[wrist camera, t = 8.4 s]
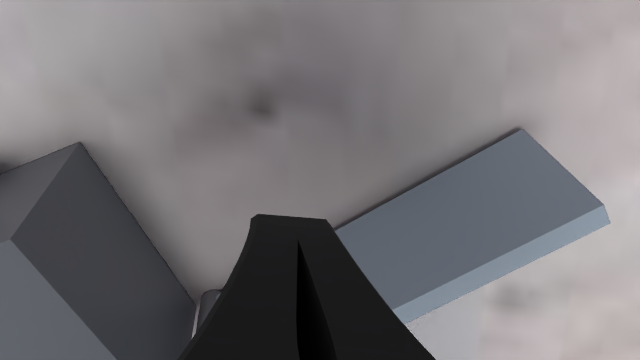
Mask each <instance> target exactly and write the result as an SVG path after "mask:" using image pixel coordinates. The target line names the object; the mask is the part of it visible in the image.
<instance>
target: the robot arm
mask: <svg viewBox="0 0 640 360" xmlns="http://www.w3.org/2000/svg"><path fill="white" fill-rule="evenodd" d="M177 360H436V359H435V358H434V357H433V356H432V355H431V354H430V353H429V352H428V351H427V350H426V349H425V348H424V347H423V346H422V345H421V343H420V342H419V341H418V340H417V339H416V338H415V337H414V336H413V334H412V333H411V332H410V331H409V330H408V329H407V327H406V326H405V325H404V324H403V323H402V322H401V321H400V319H399V318H398V317H397V316H396V314H395V313H394V312H393V311H392V310H391V308H390V307H389V306H388V305H387V303H386V302H385V301H384V299H383V298H382V297H381V296H380V294H379V293H378V292H377V290H376V289H375V288H374V286H373V285H372V284H371V283H370V281H369V280H368V279H367V277H366V276H365V275H364V273H363V272H362V270H361V269H360V268H359V266H358V265H357V263H356V262H355V261H354V259H353V258H352V256H351V255H350V253H349V252H348V250H347V249H346V247H345V246H344V245H343V243H342V242H341V240H340V239H339V237H338V236H337V234H336V233H335V231H334V230H333V228H332V227H331V225H330V224H329V223H328V221H327V220H326V219H314V218H302V217H290V216H277V215H265V214H257V215H256V216H254V217H253V218H251V222H250V229H249V233H248V237H247V240H246V242H245V245H244V248H243V250H242V252H241V255H240V257H239V259H238V261H237V263H236V265H235V267H234V269H233V271H232V273H231V275H230V277H229V279H228V281H227V283H226V285H225V287H224V289H223V290H222V292H221V294H220V296H219V297H218V299H217V301H216V302H215V304H214V305H213V307H212V309H211V310H210V312H209V313H208V315H207V317H206V318H205V320H204V322H203V323H202V325H201V326H200V328H199V329H198V331H197V332H196V334H195V335H194V337H193V338H192V340H191V341H190V343H189V344H188V345H187V347H186V348H185V350H184V351H183V352H182V354H181V355H180V356H179V358H178V359H177Z"/></svg>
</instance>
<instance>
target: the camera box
mask: <svg viewBox="0 0 640 360" xmlns="http://www.w3.org/2000/svg"><path fill="white" fill-rule="evenodd" d="M195 313H196V305H195V304H194V303H193V301H192V300H191V298H190V297H189V296H188V294H187V293H186V291H185V290H184V288H183V287H182V286H181V284H180V283H179V281H178V280H177V279H176V277H175V276H174V274H173V273H172V272H171V270H170V269H169V267H168V266H167V264H166V263H165V262H164V260H163V259H162V257H161V256H160V255H159V253H158V252H157V250H156V249H155V247H154V246H153V245H152V243H151V242H150V240H149V239H148V238H147V236H146V235H145V233H144V232H143V230H142V229H141V228H140V226H139V225H138V223H137V222H136V221H135V219H134V218H133V216H132V215H131V213H130V212H129V211H128V209H127V208H126V206H125V205H124V204H123V202H122V201H121V199H120V198H119V196H118V195H117V194H116V192H115V191H114V189H113V188H112V187H111V185H110V184H109V182H108V181H107V180H106V178H105V177H104V175H103V174H102V172H101V171H100V170H99V168H98V167H97V165H96V164H95V163H94V161H93V160H92V158H91V157H90V155H89V154H88V153H87V151H86V150H85V148H84V147H83V146H82V144H81V143H80V142H78V143H76V144H73V145H71V146H69V147H66V148H64V149H61V150H59V151H56V152H54V153H51V154H49V155H47V156H44V157H42V158H39V159H37V160H34V161H32V162H29V163H27V164H25V165H22V166H20V167H17V168H15V169H12V170H10V171H7V172H5V173H3V174H0V360H177V359H178V358H179V356H180V355H181V354H182V352H183V351H184V350H185V348H186V347H187V345H188V344H189V343H190V341H191V338H192V331H193V325H194V319H195Z"/></svg>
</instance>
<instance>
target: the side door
mask: <svg viewBox="0 0 640 360" xmlns="http://www.w3.org/2000/svg"><path fill="white" fill-rule="evenodd" d="M608 224H610V220H609V217H608V215H607V212H606V209H605V206H604V204H603V203H602V202H601V201H599V200H598V199H597V198H596V197H595V196H594V195H593V194H592V193H591V192H590V191H589V190H588V189H587V188H586V187H585V186H583V185H582V184H581V183H580V182H579V181H578V180H577V179H576V178H575V177H574V176H573V175H572V174H571V173H570V172H569V171H567V170H566V169H565V168H564V167H563V166H562V165H561V164H560V163H559V162H558V161H557V160H556V159H555V158H554V157H553V156H552V155H550V154H549V153H548V152H547V151H546V150H545V149H544V148H543V147H542V146H541V145H540V144H539V143H538V142H537V141H536V140H534V139H533V138H532V137H531V136H530V135H529V134H528V133H527V132H526V131H525V130H524V129H521V130H520V131H518V132H516V133H514V134H512V135H510V136H509V137H507V138H505V139H503V140H501V141H499V142H498V143H496V144H494V145H492V146H490V147H488V148H486V149H485V150H483V151H481V152H479V153H477V154H475V155H474V156H472V157H470V158H468V159H466V160H464V161H463V162H461V163H459V164H457V165H455V166H453V167H451V168H450V169H448V170H446V171H444V172H442V173H440V174H439V175H437V176H435V177H433V178H431V179H429V180H428V181H426V182H424V183H422V184H420V185H418V186H416V187H415V188H413V189H411V190H409V191H407V192H405V193H404V194H402V195H400V196H398V197H396V198H394V199H393V200H391V201H389V202H387V203H385V204H383V205H381V206H380V207H378V208H376V209H374V210H372V211H370V212H369V213H367V214H365V215H363V216H361V217H359V218H358V219H356V220H354V221H352V222H350V223H348V224H346V225H345V226H343V227H341V228H339V229H337V230H335V233H336V234H337V236H338V237H339V239H340V240H341V242H342V243H343V245H344V246H345V247H346V249H347V250H348V252H349V253H350V255H351V256H352V258H353V259H354V261H355V262H356V263H357V265H358V266H359V268H360V269H361V270H362V272H363V273H364V275H365V276H366V277H367V279H368V280H369V281H370V283H371V284H372V285H373V286H374V288H375V289H376V290H377V292H378V293H379V294H380V296H381V297H382V298H383V299H384V301H385V302H386V303H387V305H388V306H389V307H390V308H391V310H392V311H393V312H394V313H395V314H396V316H397V317H398V318H399V319H400V321H401V322H402V323H403V324H406V323H408V322H410V321H412V320H414V319H416V318H418V317H420V316H422V315H424V314H426V313H428V312H430V311H432V310H434V309H436V308H438V307H440V306H442V305H444V304H446V303H449V302H451V301H453V300H455V299H457V298H459V297H461V296H463V295H465V294H467V293H469V292H471V291H473V290H475V289H477V288H479V287H481V286H483V285H485V284H487V283H489V282H491V281H493V280H495V279H498V278H500V277H502V276H504V275H506V274H508V273H510V272H512V271H514V270H516V269H518V268H520V267H522V266H524V265H526V264H528V263H530V262H532V261H534V260H536V259H538V258H540V257H542V256H544V255H547V254H549V253H551V252H553V251H555V250H557V249H559V248H561V247H563V246H565V245H567V244H569V243H571V242H573V241H575V240H577V239H579V238H581V237H583V236H585V235H587V234H589V233H591V232H593V231H596V230H598V229H600V228H602V227H604V226H606V225H608ZM220 294H221V291H218V290H211V291H207V292H206V293H204V294H203V295H202V297H201V302H200V309H199V315H198V322H197V329H196V332H197V331H198V329H199V328H200V326H201V325H202V323H203V322H204V320H205V318H206V317H207V315H208V313H209V312H210V310H211V309H212V307H213V305H214V304H215V302H216V301H217V299H218V297H219V296H220Z"/></svg>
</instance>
